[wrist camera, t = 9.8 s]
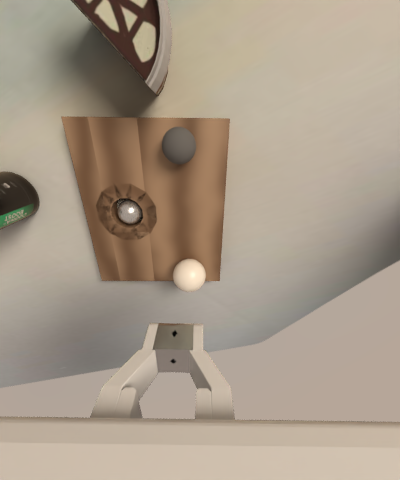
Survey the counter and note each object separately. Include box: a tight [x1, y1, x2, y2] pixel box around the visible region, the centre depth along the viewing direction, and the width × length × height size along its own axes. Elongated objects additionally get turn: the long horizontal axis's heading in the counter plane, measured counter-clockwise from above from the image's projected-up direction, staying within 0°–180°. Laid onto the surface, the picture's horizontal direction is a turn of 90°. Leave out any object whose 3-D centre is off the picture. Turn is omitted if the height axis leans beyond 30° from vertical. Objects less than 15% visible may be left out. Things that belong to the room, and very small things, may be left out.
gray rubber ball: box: [162, 127, 196, 164], centre depth 24 cm, size 4×4×4 cm
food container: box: [71, 0, 172, 95], centre depth 19 cm, size 12×6×10 cm, turn 45°
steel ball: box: [118, 200, 143, 224], centre depth 30 cm, size 4×4×4 cm
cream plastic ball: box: [173, 259, 206, 292], centre depth 32 cm, size 5×5×5 cm
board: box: [62, 117, 230, 281], centre depth 31 cm, size 20×24×2 cm
